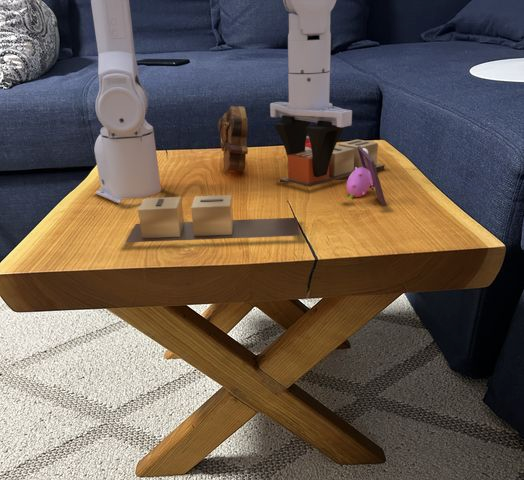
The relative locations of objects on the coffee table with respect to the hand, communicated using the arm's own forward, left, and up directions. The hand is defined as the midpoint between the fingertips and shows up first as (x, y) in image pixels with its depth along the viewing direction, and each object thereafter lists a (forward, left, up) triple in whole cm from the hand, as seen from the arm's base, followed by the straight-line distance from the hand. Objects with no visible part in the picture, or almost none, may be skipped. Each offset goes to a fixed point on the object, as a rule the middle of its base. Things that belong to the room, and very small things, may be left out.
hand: (308, 172), depth 84 cm
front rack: (+8, -24, -2) cm, 25 cm away
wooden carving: (-15, -3, -2) cm, 15 cm away
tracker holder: (-9, +10, -2) cm, 14 cm away
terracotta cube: (0, 0, -1) cm, 1 cm away
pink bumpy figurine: (+12, -2, -2) cm, 12 cm away
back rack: (0, +5, -2) cm, 6 cm away
